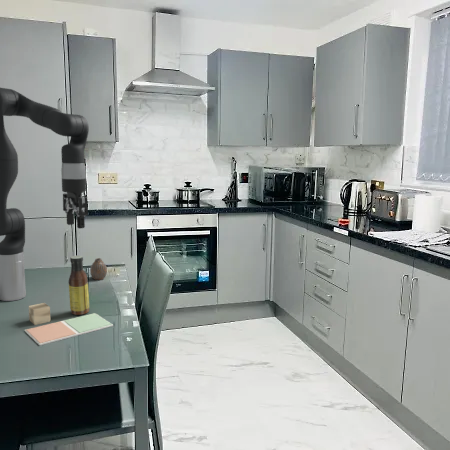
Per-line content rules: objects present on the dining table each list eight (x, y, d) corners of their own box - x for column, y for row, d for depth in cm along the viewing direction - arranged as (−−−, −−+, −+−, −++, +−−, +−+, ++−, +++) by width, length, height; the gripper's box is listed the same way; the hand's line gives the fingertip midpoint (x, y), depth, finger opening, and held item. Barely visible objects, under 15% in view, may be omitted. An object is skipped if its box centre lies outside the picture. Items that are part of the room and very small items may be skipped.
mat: (24, 331, 137) (24, 329, 137) (95, 314, 152) (95, 312, 152) (39, 345, 128) (39, 343, 127) (113, 326, 143) (113, 324, 143)
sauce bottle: (82, 307, 158) (81, 253, 154) (93, 312, 154) (91, 256, 150) (66, 312, 153) (63, 256, 149) (76, 317, 149) (74, 259, 145)
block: (29, 320, 146) (28, 306, 145) (44, 317, 149) (44, 302, 148) (34, 325, 142) (34, 310, 141) (50, 321, 145) (49, 306, 144)
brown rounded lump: (90, 276, 195) (89, 257, 193) (106, 275, 197) (106, 256, 195) (90, 281, 188) (90, 261, 187) (107, 280, 190) (107, 260, 189)
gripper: (94, 178, 142) (95, 228, 145) (76, 175, 153) (77, 222, 155) (71, 179, 137) (73, 230, 140) (54, 176, 148) (56, 224, 151)
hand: (75, 226), depth 148 cm, fingers open, 8 cm apart
